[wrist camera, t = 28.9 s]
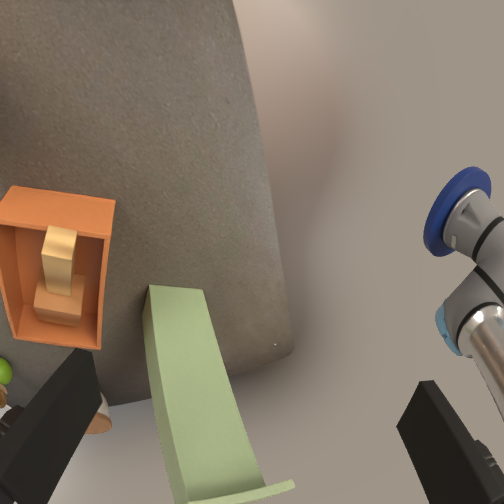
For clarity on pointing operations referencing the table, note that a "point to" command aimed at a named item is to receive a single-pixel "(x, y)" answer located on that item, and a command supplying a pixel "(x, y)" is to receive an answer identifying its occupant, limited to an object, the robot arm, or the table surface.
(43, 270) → the mallet
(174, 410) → the shelf stand
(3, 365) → the snail figurine
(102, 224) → the open box
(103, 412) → the lidded bowl
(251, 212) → the table surface
